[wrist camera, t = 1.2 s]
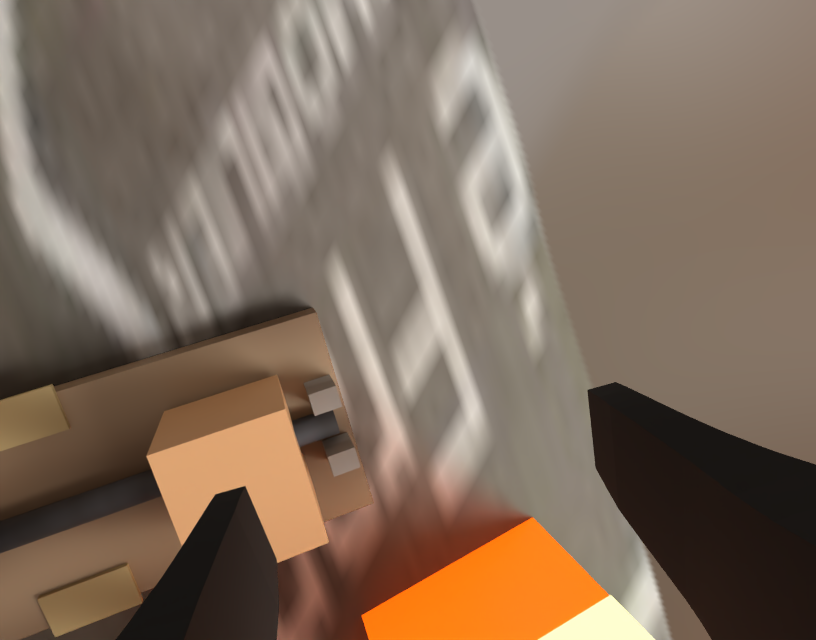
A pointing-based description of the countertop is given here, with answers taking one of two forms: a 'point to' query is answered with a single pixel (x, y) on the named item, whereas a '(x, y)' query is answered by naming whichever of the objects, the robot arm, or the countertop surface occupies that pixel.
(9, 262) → the countertop surface
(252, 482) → the tan small block
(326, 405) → the cord board
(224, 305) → the countertop surface
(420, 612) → the orange juice
